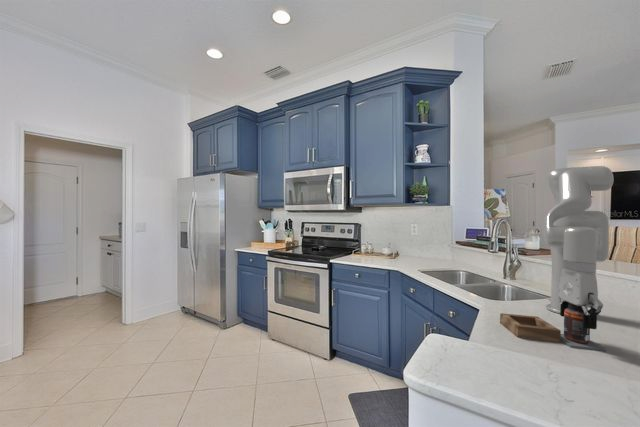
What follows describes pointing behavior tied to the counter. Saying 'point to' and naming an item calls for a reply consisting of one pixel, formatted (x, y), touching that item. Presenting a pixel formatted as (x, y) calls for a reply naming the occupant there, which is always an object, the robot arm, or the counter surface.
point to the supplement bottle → (575, 325)
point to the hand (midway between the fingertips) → (577, 322)
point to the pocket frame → (530, 327)
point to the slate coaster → (581, 344)
